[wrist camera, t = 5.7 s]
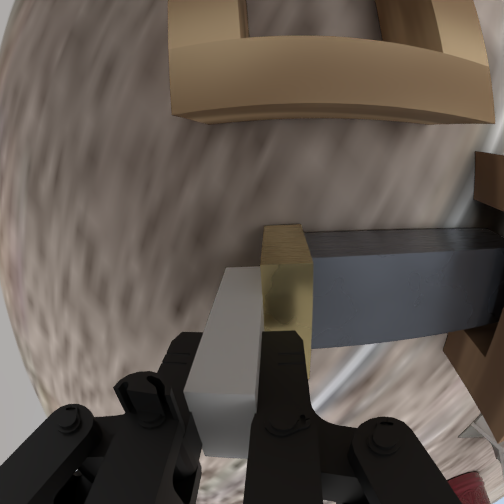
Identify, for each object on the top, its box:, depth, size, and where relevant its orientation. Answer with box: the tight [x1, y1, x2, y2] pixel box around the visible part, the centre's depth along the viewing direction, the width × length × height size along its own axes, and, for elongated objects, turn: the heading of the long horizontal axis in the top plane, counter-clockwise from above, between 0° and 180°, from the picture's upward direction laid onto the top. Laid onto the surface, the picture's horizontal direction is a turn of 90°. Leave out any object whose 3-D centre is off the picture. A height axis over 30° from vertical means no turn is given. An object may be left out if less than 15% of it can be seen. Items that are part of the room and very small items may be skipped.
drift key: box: [260, 224, 504, 379], centre depth 11 cm, size 12×5×4 cm, turn 94°
